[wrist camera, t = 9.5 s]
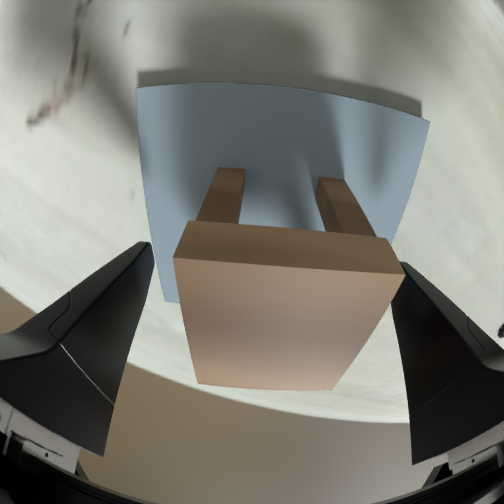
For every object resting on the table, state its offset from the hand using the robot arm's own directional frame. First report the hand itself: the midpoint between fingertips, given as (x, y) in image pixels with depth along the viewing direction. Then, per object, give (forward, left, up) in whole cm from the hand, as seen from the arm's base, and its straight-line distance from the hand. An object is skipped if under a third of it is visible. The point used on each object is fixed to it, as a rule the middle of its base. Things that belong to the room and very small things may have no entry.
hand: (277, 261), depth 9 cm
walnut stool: (0, 0, -2) cm, 2 cm away
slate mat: (0, 0, -3) cm, 3 cm away
